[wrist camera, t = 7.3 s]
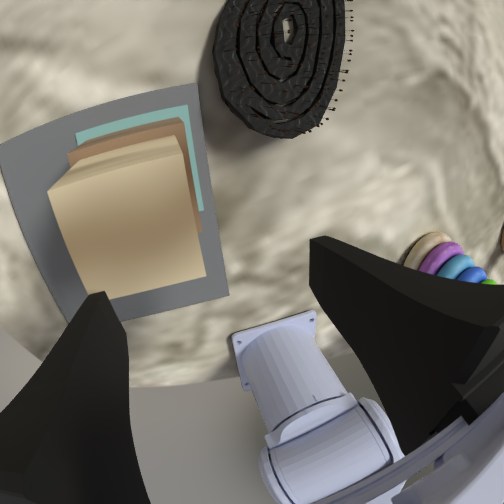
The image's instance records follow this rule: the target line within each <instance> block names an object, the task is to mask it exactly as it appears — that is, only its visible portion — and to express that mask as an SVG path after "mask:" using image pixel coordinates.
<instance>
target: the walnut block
mask: <svg viewBox="0 0 504 504" xmlns="http://www.w3.org/2000/svg"><path fill="white" fill-rule="evenodd" d="M172 135H175V137H176V139H177V141H178V144H179V146H180V148H181V151H182V153H183V158H184V164H185V170H186V175H187V181H188V187H189V192H190V197H191V203H192V208H193V213H194V218H195V223H196V228H197V233H201V232H203V230H202V225H201V220H200V214H199V209H198V203H197V198H196V192H195V187H194V181H193V175H192V169H191V163H190V157H189V151H188V144H187V138H186V131H185V125H184V122H183V121H182V120H181V119H180V118H179V117H175V118H170V119H165V120H160V121H156V122H151V123H147V124H143V125H139V126H135V127H131V128H127V129H123V130H120V131H116V132H112V133H109V134H106V135H102V136H99V137H96V138H92V139H89V140H86V141H85V142H83V143H82V144H80V145H79V146H78V147H76V148H75V149H73V150H72V151H70V152H69V153H68V154H67V156H68V160H69V164H70V168H72V167H73V166H74V165H75V164H76V163H77V162H78V161H79V160H82V159H85V158H88V157H91V156H94V155H98V154H101V153H104V152H108V151H111V150H115V149H119V148H122V147H126V146H130V145H134V144H138V143H142V142H146V141H150V140H154V139H158V138H163V137H167V136H172Z"/></svg>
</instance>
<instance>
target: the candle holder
mask: <svg viewBox="0 0 504 504" xmlns="http://www.w3.org/2000/svg"><path fill="white" fill-rule="evenodd" d="M501 247H502V250H503V251H504V228H503V233H502V239H501Z"/></svg>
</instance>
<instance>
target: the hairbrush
mask: <svg viewBox="0 0 504 504" xmlns="http://www.w3.org/2000/svg"><path fill="white" fill-rule="evenodd" d="M264 1H265V0H249V1H248V3H247V5H246V0H228V1H227V3H226V6H225V8H224V10H223V12H222V15H221V16H220V19H219V22H218V24H217V28H216V35H215V40H214V46H213V59H214V64H215V74H216V76H217V79H218V83H219V88H220V93H221V98H222V99H223V101H224V102H225V104H226V105H227V106H228V107H229V108H230V110H231V111H232V112H233V113H234V114H235V115H236V116H237V117H238V118H240V119H241V120H242V121H243V122H244V123H245V124H246V126H247V127H248V128H250V129H252V130H254V131H256V132H258V133H261V134H264V135H267V136H270V137H275V138H281V139H283V138H289V139H293V138H295V137H297V136H298V135H301V134H302V133H303V134H306V133H305V132H306V131H309V132H311V130H310V129H312V128H314V127H315V126H317V127H319V124H321V125H323V123H320V121H321V119H322V117H323V115H324V113H325V111H326V109H327V107H328V104H329V102H330V100H331V98H332V96H333V94H334V92H335V90H336V88H337V82H338V77H339V72H341V71H340V66H341V60H342V55H343V49H344V43H345V41H352V42H353V40H345V18H347V17H345V4H344V0H267V1H266V3H265V2H264ZM347 1H353V0H347ZM288 2H292V3H293V4H295V5H292V4H284V3H288ZM263 4H265V5H264V7H263V9H261V8H262V6H263ZM281 4H284V5H283V6H282V7H281V9H280V10H279V11H277V12H275V11H276V9H277V8H278V7H279V6H280V5H281ZM245 5H246V7H245V9H244V10H243V13H242V14H240V16H241V15H242V16H241V20H240V21H238V16H239V13H240V11H241V10H242V8H243V6H245ZM301 10H302V11H301ZM260 11H262V12H261V13H260ZM349 11H351V12H352V11H353V10H349ZM274 13H277V15H276V16H275V18H274ZM259 14H261V15H260V18H259V21H258V24H256V20H257V17H258V15H259ZM288 16H291V17H293V25H294V37H293V39H292V40H291V41H290V42H289V43H290V44H286V43H287V42H285V41H284V32H283V23H282V20H284V19H285V18H287V17H288ZM273 18H274V19H273ZM351 18H354V17H352V16H351ZM286 21H292V20H291V19H289V20H286ZM350 21H353V20H350ZM239 22H240V23H239ZM238 23H239V25H238ZM319 23H320V27H319ZM256 25H257V27H256ZM305 26H306V29H305ZM237 27H238V30H237ZM256 28H257V49H256ZM271 30H272V32H271ZM351 31H352V32H353V31H354V30H351ZM287 32H288V33H290V30H288V31H287ZM270 36H271V37H270ZM350 36H351V37H353V35H350ZM270 38H271V41H270ZM237 43H238V44H237ZM235 45H236V49H235ZM236 50H237V54H236V52H235V51H236ZM347 51H348V50H347ZM349 51H350V52H351V51H352V50H349ZM349 55H352V54H351V53H350V54H349ZM301 56H302V58H301ZM300 59H301V60H300ZM347 61H348V62H350V61H351V60H347ZM299 62H300V63H299ZM343 71H346V72H344V73H348V71H349V70H343ZM293 72H294V73H293ZM291 73H293V74H292V75H291V76H290V77H289V78H288V79H287V80H285V81H283V82H280V81H278V80H280V79H284V78H285V77H287V76H288V75H290V74H291ZM342 81H343V82H344V81H345V80H342ZM248 83H249V84H248ZM249 85H250V87H249ZM339 91H343V90H341V89H340V90H339ZM296 97H297V98H296ZM294 98H296V99H295V101H293V102H291V103H289V104H287V105H285V106H283V107H281V106H269V105H268V104H267V103H266V102H268V103H271V104H273V105H275V104H280V105H282V104H284V103H286V102H288V101H290V100H292V99H294ZM264 100H265V101H266V102H265V101H264ZM332 100H333V99H332ZM335 101H338V100H337V99H335ZM329 108H330V107H329ZM335 109H336V108H333V109H329V110H332V111H335ZM304 110H305V111H304ZM302 111H304V112H303V113H301V112H302ZM254 112H255V113H256V114H257V115H256V114H255V113H254ZM300 113H301V114H300ZM299 114H300V115H299ZM296 115H298V116H296ZM294 116H296V117H294ZM261 117H262V118H261ZM292 117H294V118H292ZM291 118H292V119H291ZM265 119H272V120H282V119H291V120H289V121H287V122H281V123H273V122H270V121H268V120H265ZM326 120H329V119H328V118H326Z"/></svg>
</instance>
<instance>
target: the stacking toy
mask: <svg viewBox="0 0 504 504" xmlns="http://www.w3.org/2000/svg"><path fill="white" fill-rule="evenodd" d="M403 266H405V267H408V268H411V269H415V270H418V271H422V272H425V273H429V274H432V275H436V276H440V277H445V278H450V279H455V280H460V281H466V282H474V283H482V284H496V285H497V283H496V282H495V281H493V280H490V279H487V277H486V273H485V272H484V270H483V269H481V268H480V267H475V265H474V262H473V260H472V259H471V258H470V257H469V256H467V255H464V253H463V250H462V248H461V247H460V245H458V244H457V243H455V242H452V241H451V239H450V238H449V236H448V235H446V234H445V233H443V232H432V233H429V234H427V235H426V236H424V237H423V238H421V239H420V240H419V241H418V242H417V243H416V245H415V246H414V247H413V248H412V250H411V251H410V253H409V255H408V256H407V258H406V260H405V263H404V265H403Z"/></svg>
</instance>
